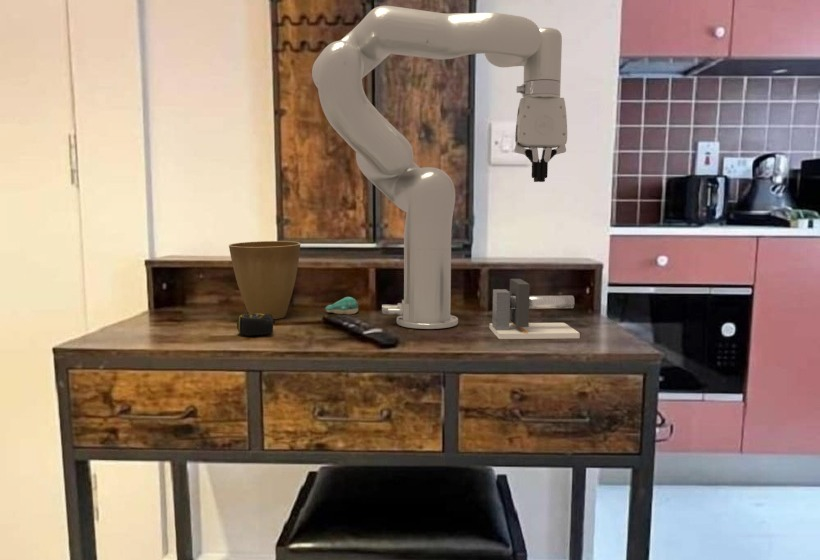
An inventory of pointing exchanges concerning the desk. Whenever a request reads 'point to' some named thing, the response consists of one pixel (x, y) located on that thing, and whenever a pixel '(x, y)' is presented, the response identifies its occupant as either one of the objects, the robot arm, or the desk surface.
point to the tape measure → (255, 324)
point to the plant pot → (266, 274)
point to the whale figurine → (344, 306)
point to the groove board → (537, 331)
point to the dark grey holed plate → (520, 302)
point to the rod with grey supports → (507, 302)
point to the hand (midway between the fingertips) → (539, 181)
